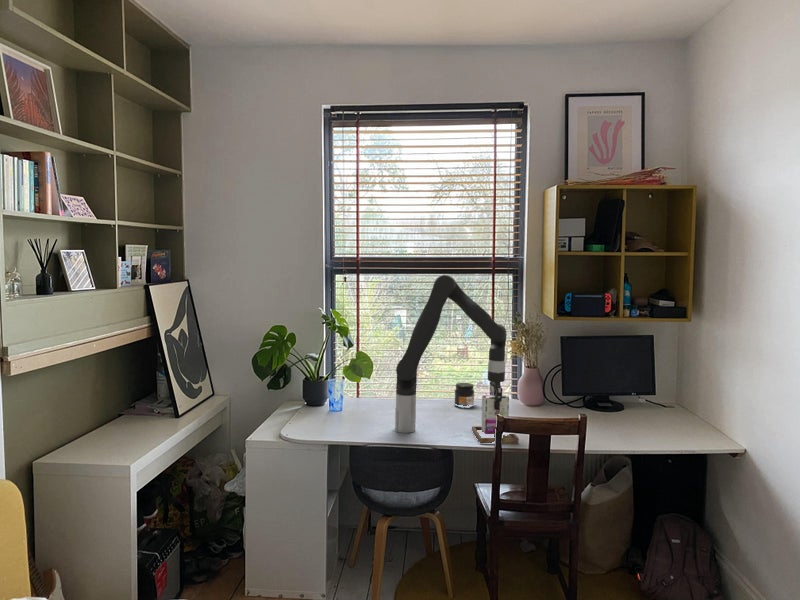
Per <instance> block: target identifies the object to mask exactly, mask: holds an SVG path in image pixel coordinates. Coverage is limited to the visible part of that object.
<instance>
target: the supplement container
mask: <svg viewBox="0 0 800 600" xmlns="http://www.w3.org/2000/svg"><path fill="white" fill-rule="evenodd" d="M474 387H475V386H474V384H473V383H470V382H457V383H456V384H455V389H454V403H455V404H457V405H463V406H467V405H468V406H469V405H473V404H474V405H475V389H474ZM455 404H454V405H455Z"/></svg>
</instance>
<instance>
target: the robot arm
mask: <svg viewBox="0 0 800 600" xmlns="http://www.w3.org/2000/svg"><path fill="white" fill-rule="evenodd" d="M428 297H429V298H428V300H427V302H426V303H425V305H424V307H423V309H422V311H421V313H420V315H419V317H418V319H417V321H416V324H415V326H414V327H413V330H412V333H411V335H410V336H411V337H410V339H409V342H408V346H407V348H406V350H405V352H404V354H403V356H402V358H401V359H400V360H399V361H398V362H397V364H396V369H395V371H396V385H395V386H396V387H395V409H394V412H395V413H394V414H395V415H394V419H395V420H394V431H395V433H403V434H410V433H415V432H416V422H417V421H416V418H417V417H416V413H417V412H416V411H417V410H416V409H417V382H418V381H417V380H418V378H417V377H418V368H419V363H420V361H421V359H422V356H423V354H424V352H425V351H426V349H427V348H428V346H429V344H430V342H431V341H432V338H433V337H434V334H435V333H436V331H437V328H438V326H439V322H440V319H441V315H442V311H443V307H444V306H445V304H446V302H447V299H450V300H451V301H452V302H453V303H454V304H456V305H457V306H458V307H459V308H460V309H461V310H462V312H463V313H464V314H465V315H466V316H467V317H468V318H469V319H470V320H471V321H472V322H473V323H474V324H475V325H476V326H478V327H479V328H480V329H481V330H482V332H483V333H484V334H485V335H486V337H487V338H489V339H490V347H489V349H488V362H487V363H488V364H487V381H489V395H493V396H494V409H495V410H499V409H500V401H502V394H503V387H502V385H501V383H503V382H505V380H506V342H507V329H506V327H505V326H504V325H501V324H498V323H497V322H496V321H495V320H493V319H492V316H491V315H490V314H489V313H488V312H487V311H486V310H484V308H482V306H481V305H479V304H478V303H477V302H476V301H474V300H473V299H472V298H471V297H470V296H469V295H468V294H466V293H465V291H464V290H463V289H462V288H461V287H460V286H459V285H458V283H457V281H456V280H455V279H454V277H453V276H451V275H448V274H441V275H439V276H437V278H436V279H435V280H434V283H433V285H432V289H431V292H430V295H429V296H428ZM498 396H499V398H497V397H498Z"/></svg>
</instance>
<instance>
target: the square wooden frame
mask: <svg viewBox="0 0 800 600" xmlns="http://www.w3.org/2000/svg"><path fill="white" fill-rule="evenodd" d="M477 430H482V425H480V426H478V425H476V426H475V425H474V426H471V432H472V431H473V433H474V434H475V436H476V438H477V439H478V441H479V442H480V443H492V442H494V441H495V438H481V436H480V435H479V433H478V432H477ZM473 433H472V434H473ZM474 434H473V435H474ZM475 436H474V437H475ZM494 437H495V433H494ZM476 438H475V439H476ZM477 439H476V440H477ZM478 441H477V442H478ZM479 442H478V443H479ZM519 443H520V438H519V437H518V436H517V434H516V433H515V434H509V435H507V436H505V435H503V438H502V444H501V445H519Z"/></svg>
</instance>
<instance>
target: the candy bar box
mask: <svg viewBox="0 0 800 600" xmlns="http://www.w3.org/2000/svg"><path fill="white" fill-rule="evenodd" d="M497 398H499V396H498V397H497ZM509 406H510V396H509V395H507V394H505V393H502V401H500V409H499V410H495V409H494V396H493V395H490V394H485V395H481V426H482V432H484V433H485V434H494V433H495V429H496V416H497V414H500V415H502V416H505V417H508V418H509V411H510V410H509V409H510V407H509Z"/></svg>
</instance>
